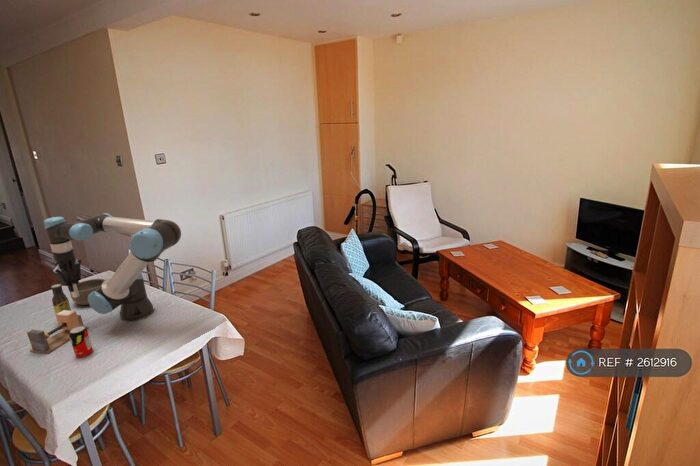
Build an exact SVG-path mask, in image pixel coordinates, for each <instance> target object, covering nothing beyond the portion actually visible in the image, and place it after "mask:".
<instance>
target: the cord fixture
mask: <svg viewBox="0 0 700 466" xmlns="http://www.w3.org/2000/svg"><path fill="white" fill-rule="evenodd" d="M77 317H78V321H79V324H80V326H84V327H85V329H87V330H88V329H89V326H85V325H84V322H83V318H82V316H81V315H80V314H77ZM66 325H67V324H66V323H64V324H62V325H60V326H59V325H58V326H57V327H56V328H54V329H52V330H50V331H49V332H45V330H41V329H31V330H28V332H26V334H27V337H28V340H29V343H30V346H31V347H32V348H30V349H29V352H31V353H37V354H38V353H39V354H45V355H49V354H51V353H53V352H54V351H55V350H57V349H59V348H60V347H63V345H65V344H67V343H68V342H69V341H70V342H71V340H70V337H69V335H70V330H63V329H61V328H63V327H65V326H66ZM60 330H61V331H60ZM58 331H59V332H58ZM56 332H57V333H56ZM55 333H56V334H55ZM51 335H52V336H51Z"/></svg>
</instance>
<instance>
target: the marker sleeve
mask: <svg viewBox="0 0 700 466" xmlns="http://www.w3.org/2000/svg"><path fill="white" fill-rule="evenodd" d="M77 315H78V313H77V311H75V310H71V311H68V310H63V311H61V312H59V313H58V314H56V315H55V317H56V322H57V324H58V327H59V326H60V325H62V324H64V323H66V324H67V325H66V326H65V327H63V328H61V329H60V330H71V329H73V328H75V327H79V326H80V324H79V321H78V317H77Z"/></svg>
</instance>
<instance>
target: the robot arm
mask: <svg viewBox="0 0 700 466" xmlns="http://www.w3.org/2000/svg"><path fill="white" fill-rule="evenodd" d="M43 223H44V229H45V233H46V236H47V239H48V241H49V245H50V248H51V251H52V256H53V258H54V259H53V260H54V261H55V262H56V265H55V268H53V269H51V272H53V273H54V274H55V276H56V277H57V279H58V281H59V282H60V284H61V285H62V287H67V289H68V291H69V293H70V292H71V294H72V297H79V296H80V295H79V292H78V289H79V287H78V283H80V281H81V278H82V271H81V264H82V259H77V258H76V257H75V251H74V249H73V244H72V241H87V240H89V239H91V237H92V236H93V235H94V234H97V233H101V232H104V233H114V234H123V235H131V238H130V240H129V245H130V246H129V247H130V248H129V249H130V250H129V251H130V252H129V253H128V255H127V256H126V258H125V259H124V260H123V262H122V263H121V264H120V265H119V266H118V268H117V270H116V271H115V272H114V273H113V274H112V276H111V277H110V278H107V279H104V280H105V281H104V282H103V283H102V284H101V286H100V287H99V288H98V289H97V290H95V291H93V292H92V293H90V294H89V295H88V302H89V305H88V306H90V308H91V309H93V311H94V312H95V313H97V314H101V315H107V314H108V313H111V312H113V311H114V310H115V309H117V308H119V307H120V311H119V317H120V320H121V321H124V322H132V321H133V322H134V321H139V320H142V319H144V318H147V317H149V316H150V315H151V314H152V313H154V310H155V309H154V305H153V303H152V302H151V300H150V299H149V297H148V295H147V289H146V285H145V281H144V277H143V274H142V273H143V271H144V270H145V269H146V268H147V266H148V265H149V264H150V263H154V262H155V261H157V260H158V258H160V256H161V255H162V254H163V253H164V252H165V251H166V250H168V249H170V248H171V247H174V246H175V245H177V244H178V243H179V241H180V239H181V237H182V230H181V228H180V226H179V225H178V223H176V222H175V221H173V220H168V219H163V218H162V219H161V218H158V219H157V218H156V219H154V220H149V219H138V218H131V217H130V218H128V217H120V216H119V217H118V216H113V215H111V214H110V213H105V212H103V213H101V214H100V213H99V214H97V215H94V216H91V217H88V218H85V219H83V220H78V221H76V222H67V221H66V220H65V218H64V216H52V217H48V218H46V219H44V221H43ZM71 240H72V241H71Z"/></svg>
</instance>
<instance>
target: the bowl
mask: <svg viewBox="0 0 700 466" xmlns="http://www.w3.org/2000/svg"><path fill="white" fill-rule="evenodd" d="M105 280H106V279H104V278H95V279H94V278H93V279H87V280H83V281H79V283H78V287H79V289H78V292H79V295H80V296H79V297H72V294H71V292H70V291H69V294H70V298H71V299H72V301H73V302H74V303H76V304H78V305H81V306H90V305H89V302H88V295H89V294H90V293H92V292H93V291H95V290H97V289H98V288H99V287H100V286H101V284H102V283H103V282H104V281H105Z"/></svg>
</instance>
